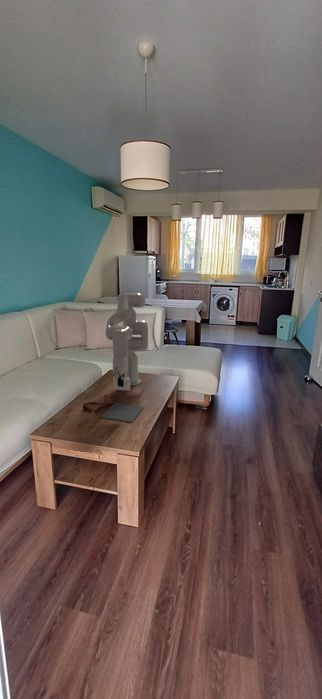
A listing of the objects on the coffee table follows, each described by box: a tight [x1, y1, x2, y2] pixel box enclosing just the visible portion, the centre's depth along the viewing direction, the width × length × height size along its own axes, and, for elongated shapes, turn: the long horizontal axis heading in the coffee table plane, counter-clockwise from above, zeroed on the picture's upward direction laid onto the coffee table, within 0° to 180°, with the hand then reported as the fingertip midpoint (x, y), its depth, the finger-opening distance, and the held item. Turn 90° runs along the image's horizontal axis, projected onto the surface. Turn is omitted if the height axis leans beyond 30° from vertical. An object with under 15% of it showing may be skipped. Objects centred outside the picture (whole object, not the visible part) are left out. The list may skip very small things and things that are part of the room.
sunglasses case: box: [82, 394, 116, 414], centre depth 187 cm, size 18×7×7 cm
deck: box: [112, 375, 131, 392], centre depth 176 cm, size 2×9×6 cm, turn 73°
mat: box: [100, 402, 145, 424], centre depth 179 cm, size 18×18×1 cm
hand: (121, 385), depth 176 cm, fingers closed on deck, 2 cm apart
